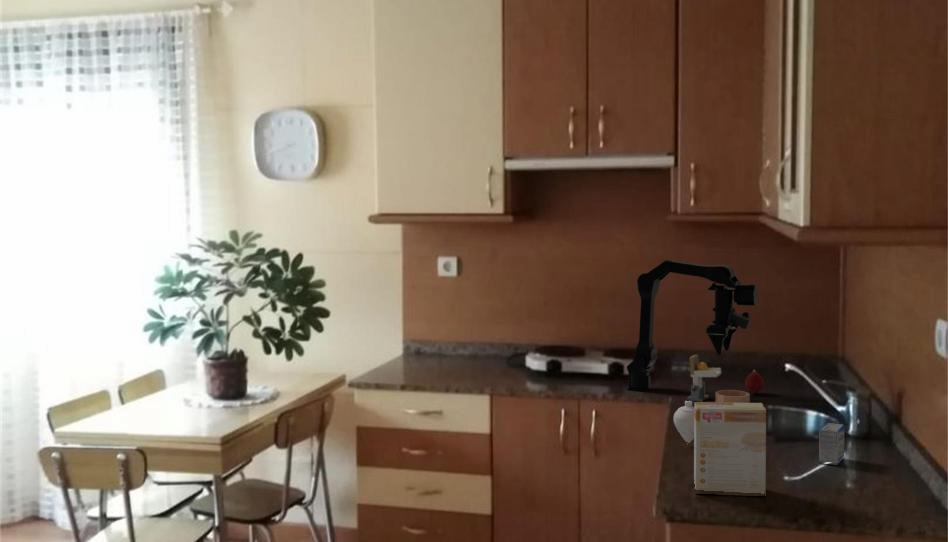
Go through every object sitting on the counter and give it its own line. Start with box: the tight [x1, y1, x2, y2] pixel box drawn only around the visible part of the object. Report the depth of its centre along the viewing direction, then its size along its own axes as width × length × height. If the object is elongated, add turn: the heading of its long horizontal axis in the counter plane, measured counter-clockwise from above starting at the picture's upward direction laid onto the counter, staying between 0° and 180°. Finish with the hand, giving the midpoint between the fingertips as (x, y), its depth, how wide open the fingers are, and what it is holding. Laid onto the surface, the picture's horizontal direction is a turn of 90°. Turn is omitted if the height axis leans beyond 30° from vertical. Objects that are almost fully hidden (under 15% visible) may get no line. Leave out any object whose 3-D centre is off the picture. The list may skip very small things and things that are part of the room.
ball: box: [696, 361, 709, 371], centre depth 298 cm, size 4×4×4 cm
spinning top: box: [673, 400, 694, 444], centre depth 244 cm, size 8×8×12 cm
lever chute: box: [688, 354, 722, 389], centre depth 297 cm, size 8×6×10 cm
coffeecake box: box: [693, 401, 767, 494], centre depth 206 cm, size 15×7×20 cm, turn 81°
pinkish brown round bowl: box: [714, 389, 751, 403], centre depth 294 cm, size 10×10×3 cm
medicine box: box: [818, 422, 845, 463], centre depth 229 cm, size 8×4×9 cm, turn 148°
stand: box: [686, 381, 710, 402], centre depth 299 cm, size 5×8×5 cm, turn 150°
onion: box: [744, 369, 764, 395], centre depth 306 cm, size 6×6×8 cm
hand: (723, 352), depth 300 cm, fingers open, 9 cm apart
